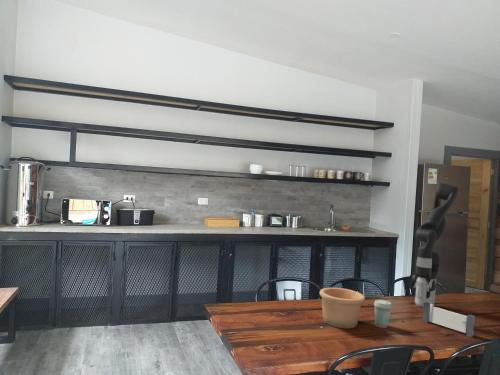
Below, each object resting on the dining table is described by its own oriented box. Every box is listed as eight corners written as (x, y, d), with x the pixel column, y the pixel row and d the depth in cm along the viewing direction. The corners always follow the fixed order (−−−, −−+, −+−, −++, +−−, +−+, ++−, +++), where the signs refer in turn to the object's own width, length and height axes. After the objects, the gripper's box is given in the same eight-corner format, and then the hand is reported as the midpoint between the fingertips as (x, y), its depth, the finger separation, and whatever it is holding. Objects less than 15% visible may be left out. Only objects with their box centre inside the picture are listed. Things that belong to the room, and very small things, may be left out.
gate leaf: (428, 321, 198) (429, 304, 198) (429, 320, 199) (431, 303, 199) (465, 333, 185) (466, 314, 185) (466, 332, 186) (468, 314, 186)
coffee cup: (381, 330, 183) (383, 305, 183) (368, 323, 191) (370, 299, 190) (394, 328, 187) (396, 303, 187) (380, 321, 195) (382, 298, 194)
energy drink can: (429, 306, 204) (431, 278, 204) (419, 306, 203) (421, 278, 203) (421, 303, 210) (423, 276, 210) (412, 303, 209) (414, 275, 209)
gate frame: (422, 321, 200) (423, 302, 200) (424, 320, 202) (425, 302, 202) (471, 337, 182) (473, 316, 182) (473, 336, 184) (475, 316, 184)
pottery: (314, 324, 183) (316, 295, 183) (321, 311, 204) (323, 285, 203) (360, 334, 175) (363, 303, 175) (363, 319, 196) (365, 292, 196)
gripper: (407, 263, 209) (405, 294, 209) (434, 269, 198) (432, 301, 198) (413, 262, 214) (411, 292, 214) (440, 267, 203) (438, 299, 204)
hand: (421, 296), depth 206 cm, fingers closed on energy drink can, 6 cm apart
